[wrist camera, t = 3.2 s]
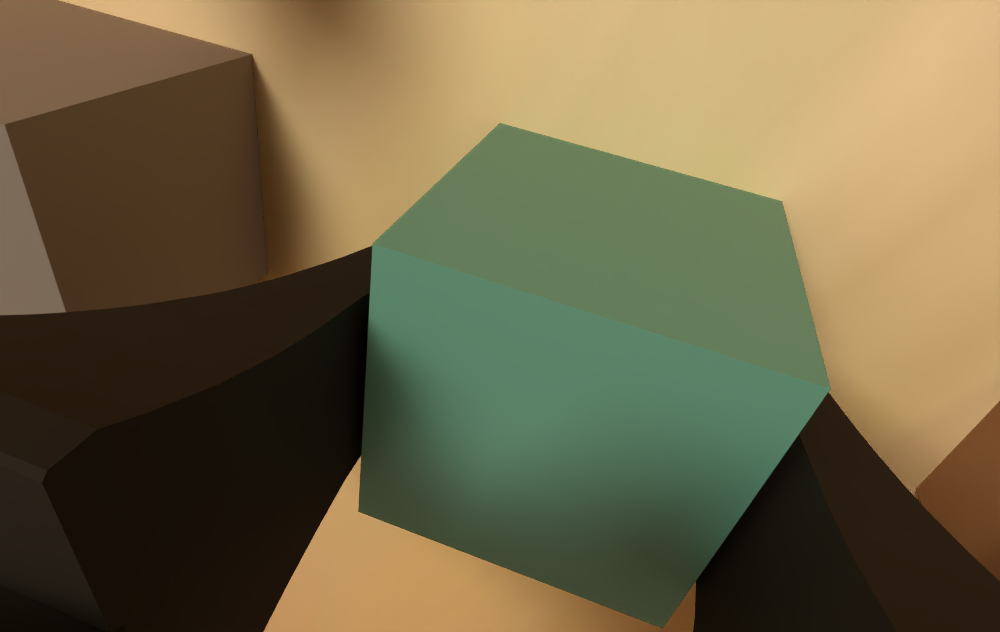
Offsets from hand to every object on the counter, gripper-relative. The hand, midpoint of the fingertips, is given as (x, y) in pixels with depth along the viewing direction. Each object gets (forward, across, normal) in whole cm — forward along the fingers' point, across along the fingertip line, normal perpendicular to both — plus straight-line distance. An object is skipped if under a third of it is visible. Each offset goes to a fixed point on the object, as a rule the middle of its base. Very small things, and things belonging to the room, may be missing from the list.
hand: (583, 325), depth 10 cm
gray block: (+2, +10, 0) cm, 10 cm away
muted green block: (+2, 0, 0) cm, 2 cm away
